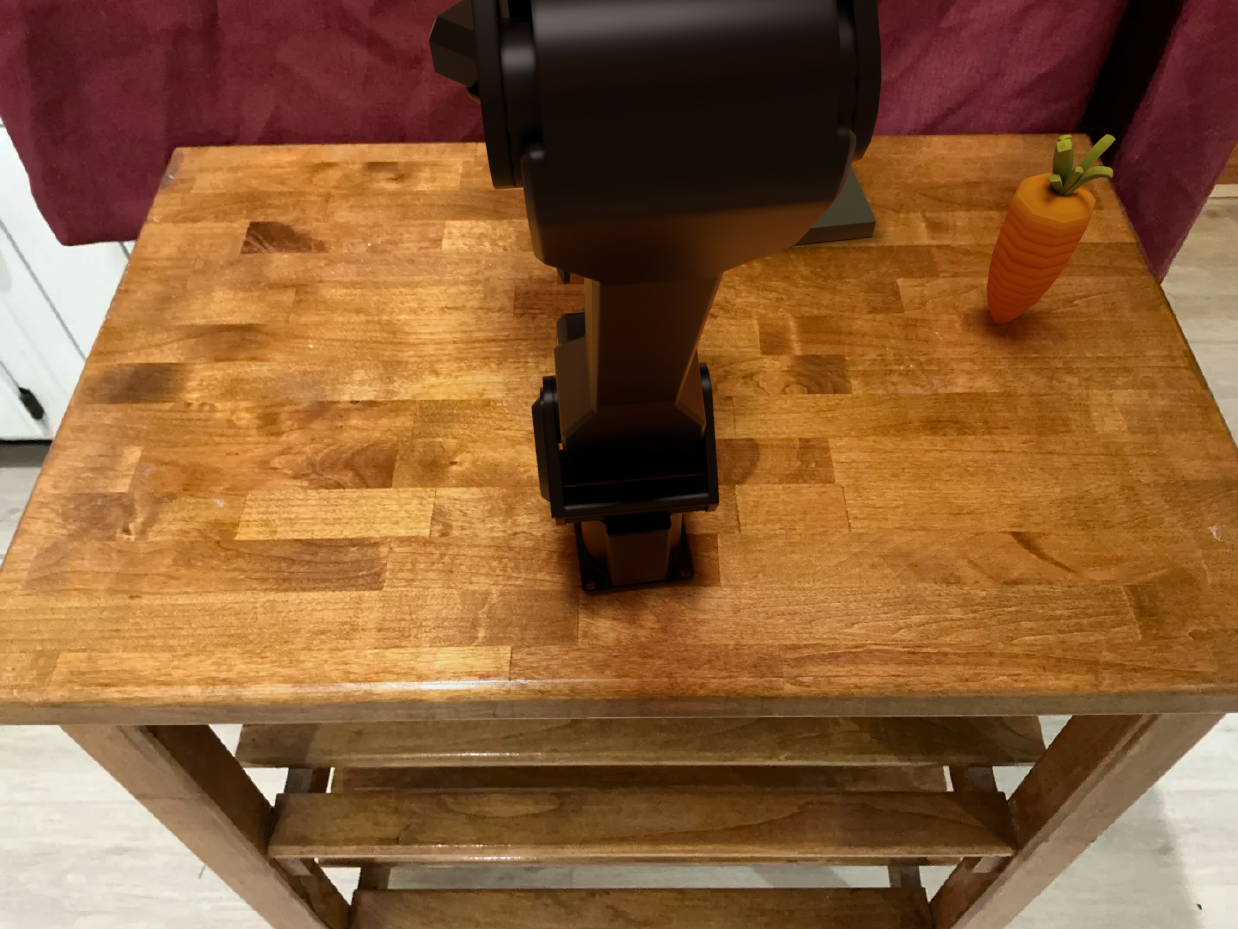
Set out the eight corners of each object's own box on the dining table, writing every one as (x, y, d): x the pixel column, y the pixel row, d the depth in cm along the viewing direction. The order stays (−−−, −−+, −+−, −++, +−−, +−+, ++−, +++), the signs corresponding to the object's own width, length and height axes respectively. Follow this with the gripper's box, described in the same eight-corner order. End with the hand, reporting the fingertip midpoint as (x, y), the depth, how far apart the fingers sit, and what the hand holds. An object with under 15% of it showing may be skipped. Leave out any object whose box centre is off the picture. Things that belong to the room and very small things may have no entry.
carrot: (1028, 299, 65) (1121, 111, 52) (1040, 350, 62) (1141, 164, 50) (957, 295, 65) (1033, 106, 53) (966, 346, 62) (1048, 159, 50)
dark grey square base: (872, 236, 69) (881, 204, 66) (717, 252, 68) (720, 220, 66) (836, 156, 75) (843, 124, 72) (692, 170, 74) (695, 138, 71)
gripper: (858, -81, 42) (805, 196, 54) (541, -175, 48) (560, 93, 61) (731, 27, 37) (705, 305, 49) (394, -94, 43) (449, 180, 56)
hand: (601, 210), depth 54 cm, fingers closed on speaker, 7 cm apart
